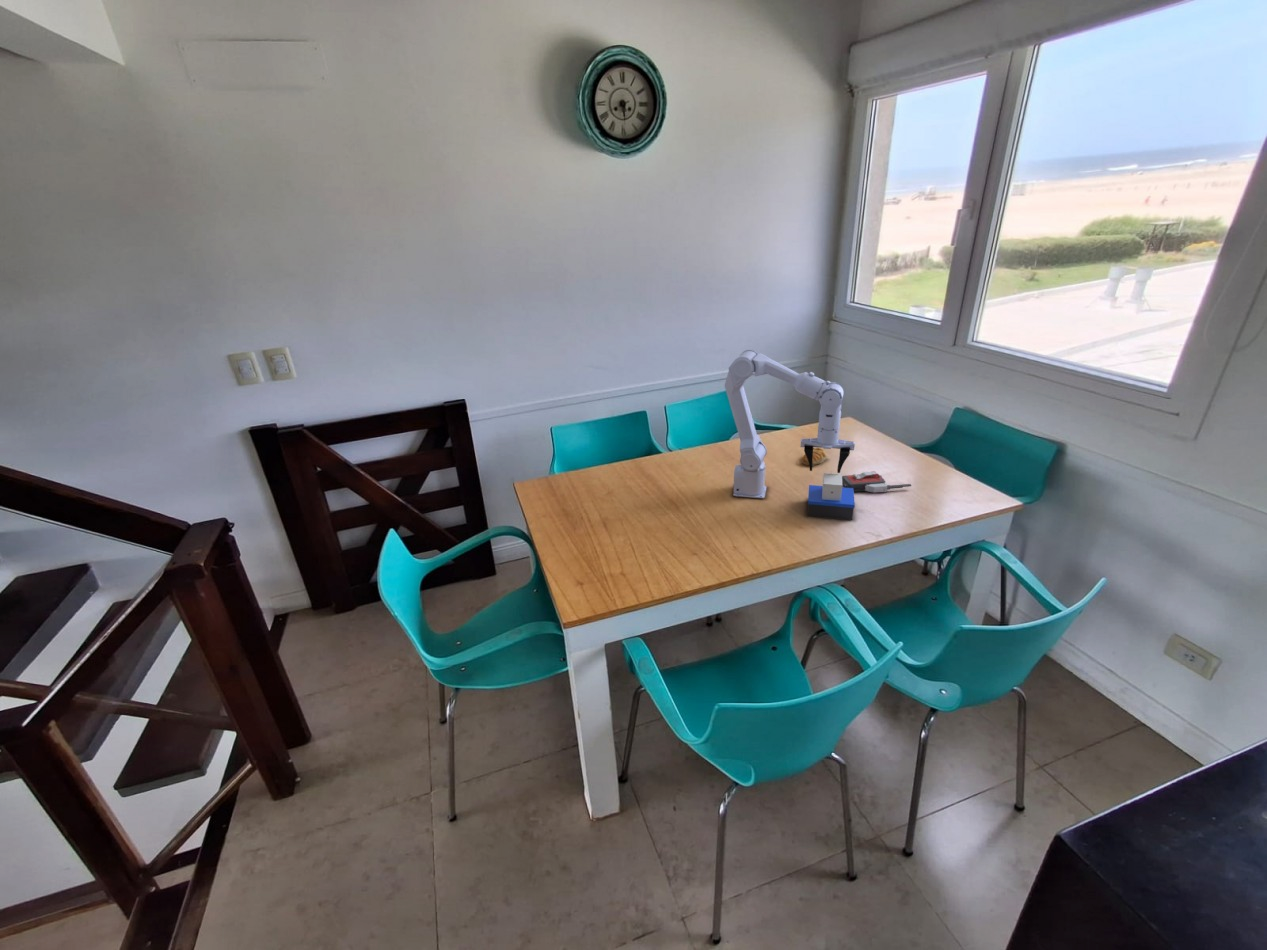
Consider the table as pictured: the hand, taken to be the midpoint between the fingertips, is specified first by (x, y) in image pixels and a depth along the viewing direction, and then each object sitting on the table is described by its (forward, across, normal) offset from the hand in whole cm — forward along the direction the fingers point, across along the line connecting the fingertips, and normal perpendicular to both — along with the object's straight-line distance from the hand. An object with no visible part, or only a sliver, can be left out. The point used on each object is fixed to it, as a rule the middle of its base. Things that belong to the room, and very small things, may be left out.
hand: (824, 470), depth 163 cm
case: (+5, +2, -5) cm, 7 cm away
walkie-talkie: (+10, +15, +12) cm, 22 cm away
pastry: (+10, -3, +29) cm, 31 cm away
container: (+10, +2, -5) cm, 12 cm away
